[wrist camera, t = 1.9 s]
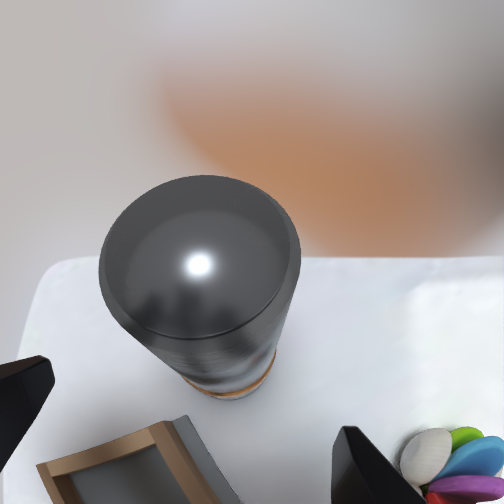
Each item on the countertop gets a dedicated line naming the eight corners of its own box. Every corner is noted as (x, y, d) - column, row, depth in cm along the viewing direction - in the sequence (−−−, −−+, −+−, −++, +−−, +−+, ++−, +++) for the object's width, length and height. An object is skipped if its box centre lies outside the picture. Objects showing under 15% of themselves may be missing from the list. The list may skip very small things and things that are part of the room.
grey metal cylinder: (210, 415, 17) (132, 397, 5) (172, 343, 19) (75, 214, 8) (287, 375, 18) (352, 279, 7) (244, 307, 20) (238, 144, 9)
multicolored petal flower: (341, 533, 12) (385, 574, 6) (414, 411, 16) (480, 396, 10) (430, 553, 10) (486, 577, 3) (488, 444, 14) (554, 434, 8)
